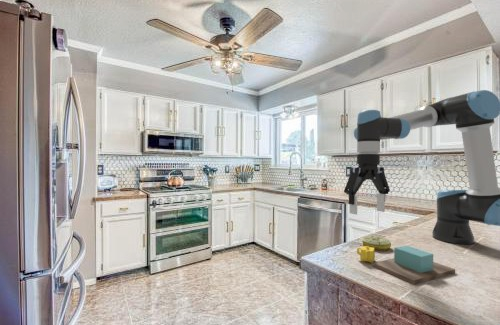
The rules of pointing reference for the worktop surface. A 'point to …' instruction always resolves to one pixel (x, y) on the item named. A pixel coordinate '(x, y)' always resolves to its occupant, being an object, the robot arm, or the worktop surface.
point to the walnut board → (413, 271)
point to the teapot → (366, 254)
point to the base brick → (413, 258)
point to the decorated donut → (377, 243)
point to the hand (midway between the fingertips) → (367, 212)
